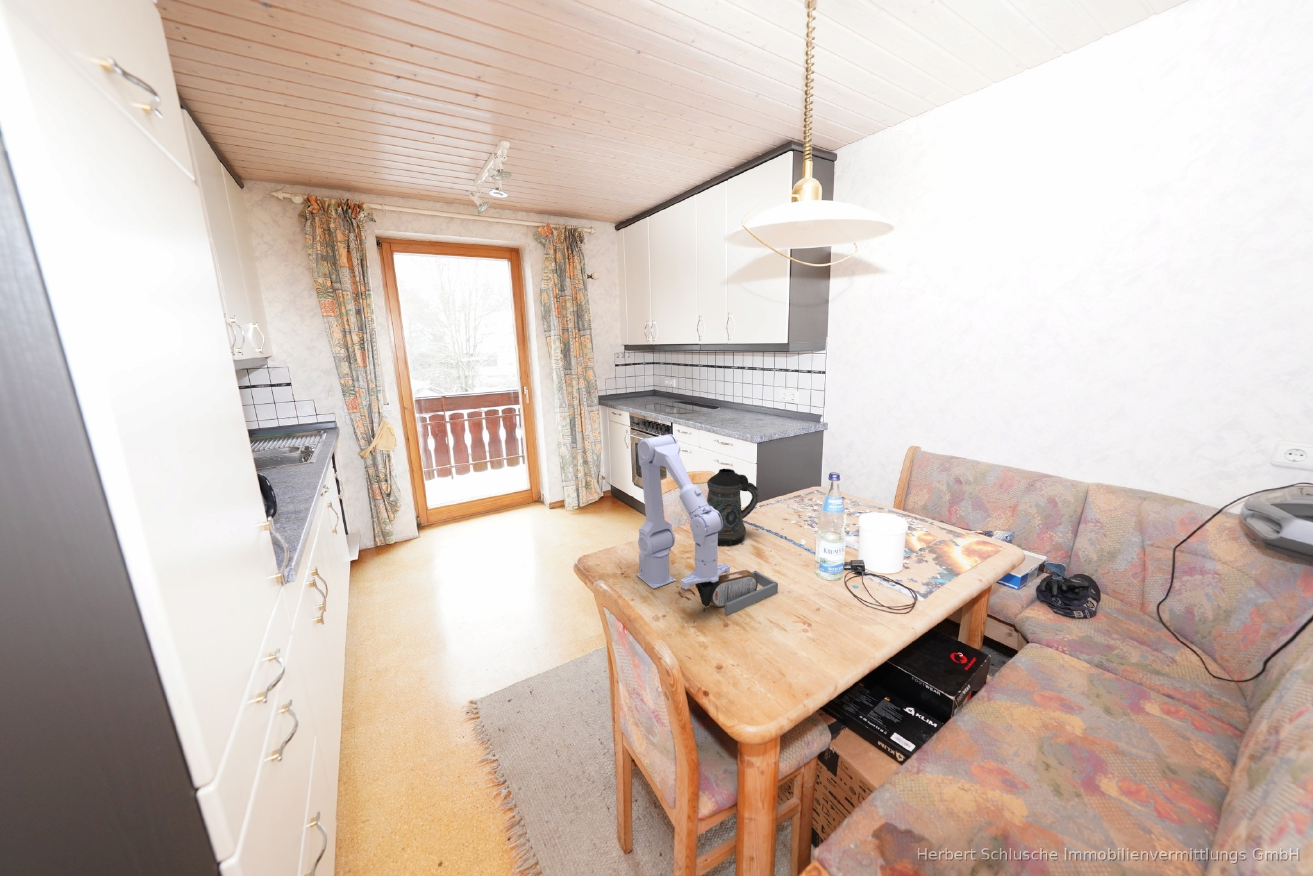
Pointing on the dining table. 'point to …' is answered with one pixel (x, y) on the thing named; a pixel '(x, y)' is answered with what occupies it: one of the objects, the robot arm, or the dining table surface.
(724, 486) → the beer stein
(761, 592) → the pocket
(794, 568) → the dining table surface
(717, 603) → the tin
